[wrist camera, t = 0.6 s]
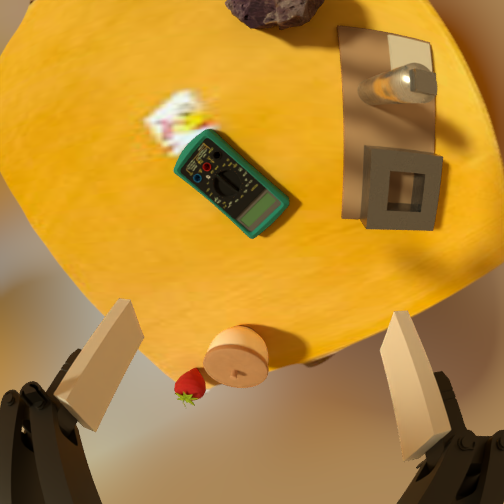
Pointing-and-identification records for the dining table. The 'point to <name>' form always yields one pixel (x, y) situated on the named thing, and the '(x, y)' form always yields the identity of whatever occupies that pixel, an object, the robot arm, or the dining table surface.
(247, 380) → the lidded jar
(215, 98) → the dining table surface
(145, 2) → the dining table surface
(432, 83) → the silver metal post
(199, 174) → the digital multimeter
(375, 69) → the board
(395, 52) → the pad
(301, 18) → the rock
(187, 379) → the strawberry
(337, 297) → the dining table surface
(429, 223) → the block
